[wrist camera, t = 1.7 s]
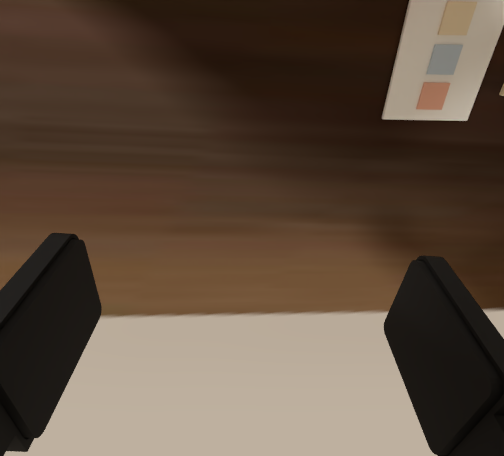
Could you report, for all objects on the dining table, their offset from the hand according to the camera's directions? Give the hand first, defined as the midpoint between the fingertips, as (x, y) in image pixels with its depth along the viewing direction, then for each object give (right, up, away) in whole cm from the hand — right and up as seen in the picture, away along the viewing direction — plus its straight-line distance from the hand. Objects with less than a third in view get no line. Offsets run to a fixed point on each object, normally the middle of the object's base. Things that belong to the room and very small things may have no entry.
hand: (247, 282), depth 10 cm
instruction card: (+14, +14, +15) cm, 26 cm away
